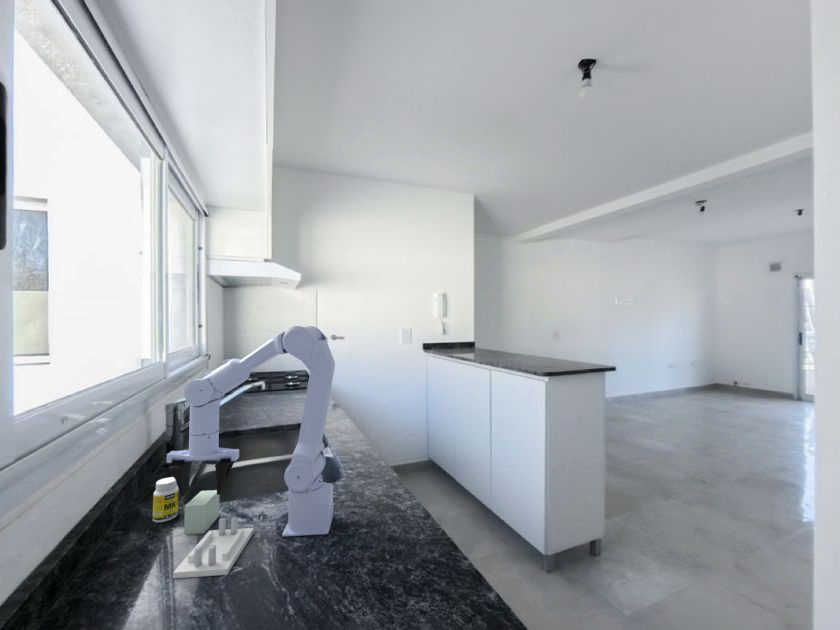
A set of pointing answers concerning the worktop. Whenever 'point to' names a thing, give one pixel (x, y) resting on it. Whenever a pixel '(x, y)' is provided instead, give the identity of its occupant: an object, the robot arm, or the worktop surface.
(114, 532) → the worktop surface
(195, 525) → the block
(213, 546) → the tray
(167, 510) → the supplement bottle
